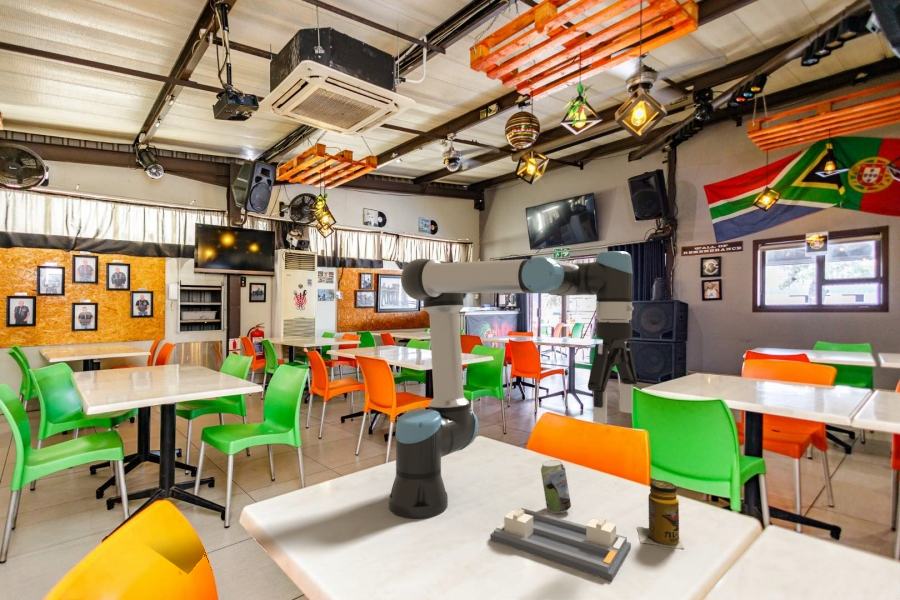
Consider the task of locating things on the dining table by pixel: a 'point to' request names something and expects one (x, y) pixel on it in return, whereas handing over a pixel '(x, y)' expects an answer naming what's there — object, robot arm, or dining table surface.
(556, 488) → the beverage can
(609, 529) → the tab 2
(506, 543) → the switch bank
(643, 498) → the dining table surface
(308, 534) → the dining table surface
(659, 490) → the condiment
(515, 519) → the tab
